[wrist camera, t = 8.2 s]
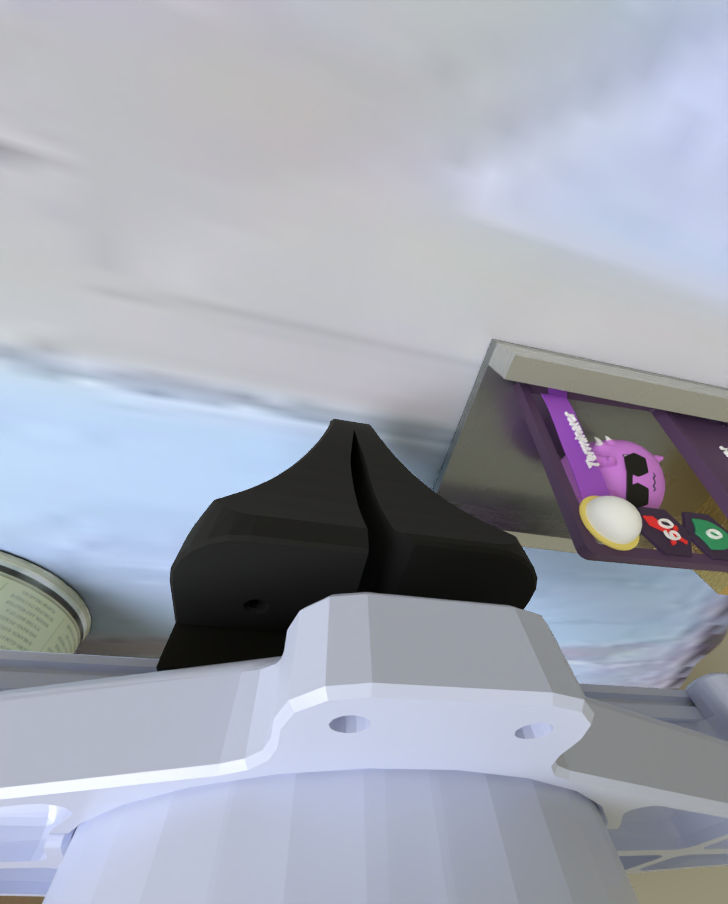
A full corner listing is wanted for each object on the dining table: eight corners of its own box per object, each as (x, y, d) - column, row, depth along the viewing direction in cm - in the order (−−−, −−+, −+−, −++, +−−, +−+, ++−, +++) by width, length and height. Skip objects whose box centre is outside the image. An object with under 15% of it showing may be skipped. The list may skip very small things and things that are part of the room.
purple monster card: (922, 571, 9) (612, 540, 8) (724, 619, 13) (501, 603, 12) (745, 395, 13) (527, 359, 12) (637, 473, 17) (467, 451, 16)
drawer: (673, 538, 18) (736, 595, 15) (426, 505, 16) (444, 564, 14) (800, 404, 14) (918, 447, 11) (492, 339, 12) (537, 370, 9)
